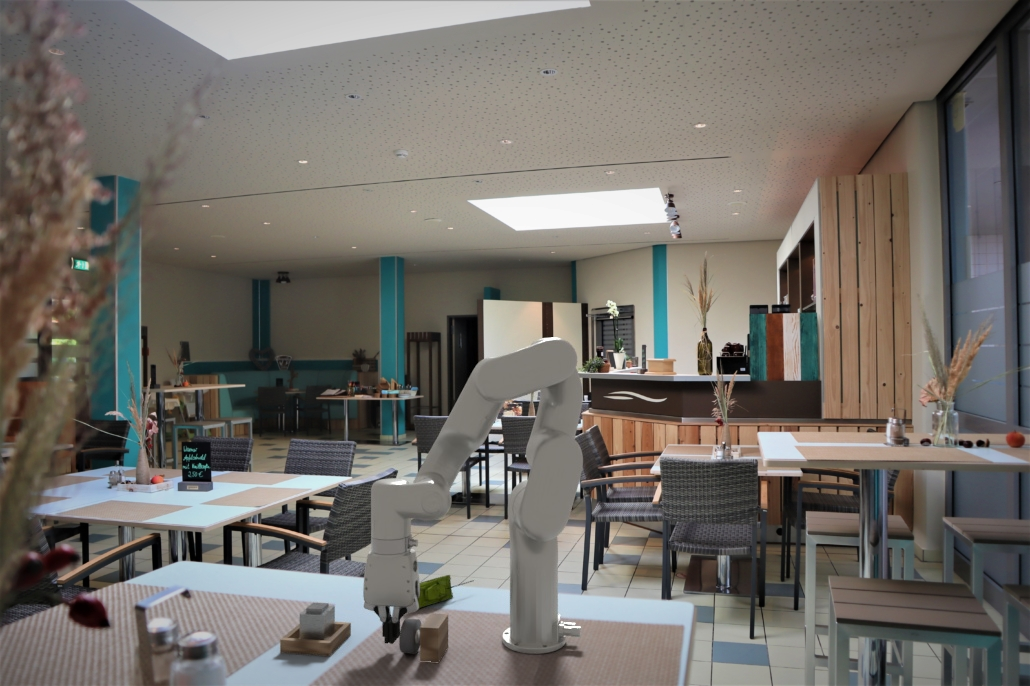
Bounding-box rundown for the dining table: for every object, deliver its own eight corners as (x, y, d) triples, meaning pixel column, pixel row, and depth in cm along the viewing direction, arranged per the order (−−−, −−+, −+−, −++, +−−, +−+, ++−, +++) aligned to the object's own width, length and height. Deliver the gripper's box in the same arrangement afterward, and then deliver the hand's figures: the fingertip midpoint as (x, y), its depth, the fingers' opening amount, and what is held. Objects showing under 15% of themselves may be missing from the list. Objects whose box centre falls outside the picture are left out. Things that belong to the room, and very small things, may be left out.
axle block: (448, 647, 135) (448, 614, 135) (438, 663, 128) (438, 628, 128) (429, 646, 136) (429, 613, 136) (418, 661, 129) (418, 627, 129)
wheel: (422, 645, 135) (422, 614, 135) (413, 659, 129) (413, 626, 129) (408, 644, 136) (408, 613, 136) (398, 658, 130) (398, 625, 130)
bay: (350, 635, 141) (350, 622, 141) (329, 656, 131) (329, 643, 131) (304, 631, 143) (304, 619, 143) (280, 652, 133) (280, 639, 133)
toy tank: (397, 582, 157) (423, 583, 150) (461, 564, 170) (488, 564, 164) (400, 615, 156) (427, 617, 149) (464, 594, 169) (492, 596, 162)
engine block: (334, 636, 139) (334, 602, 139) (324, 646, 134) (324, 611, 134) (311, 634, 140) (311, 600, 140) (299, 645, 135) (299, 609, 135)
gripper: (434, 541, 136) (434, 635, 136) (361, 537, 138) (361, 630, 138) (422, 552, 128) (423, 651, 128) (346, 548, 131) (346, 646, 131)
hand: (391, 640), depth 133 cm, fingers closed
